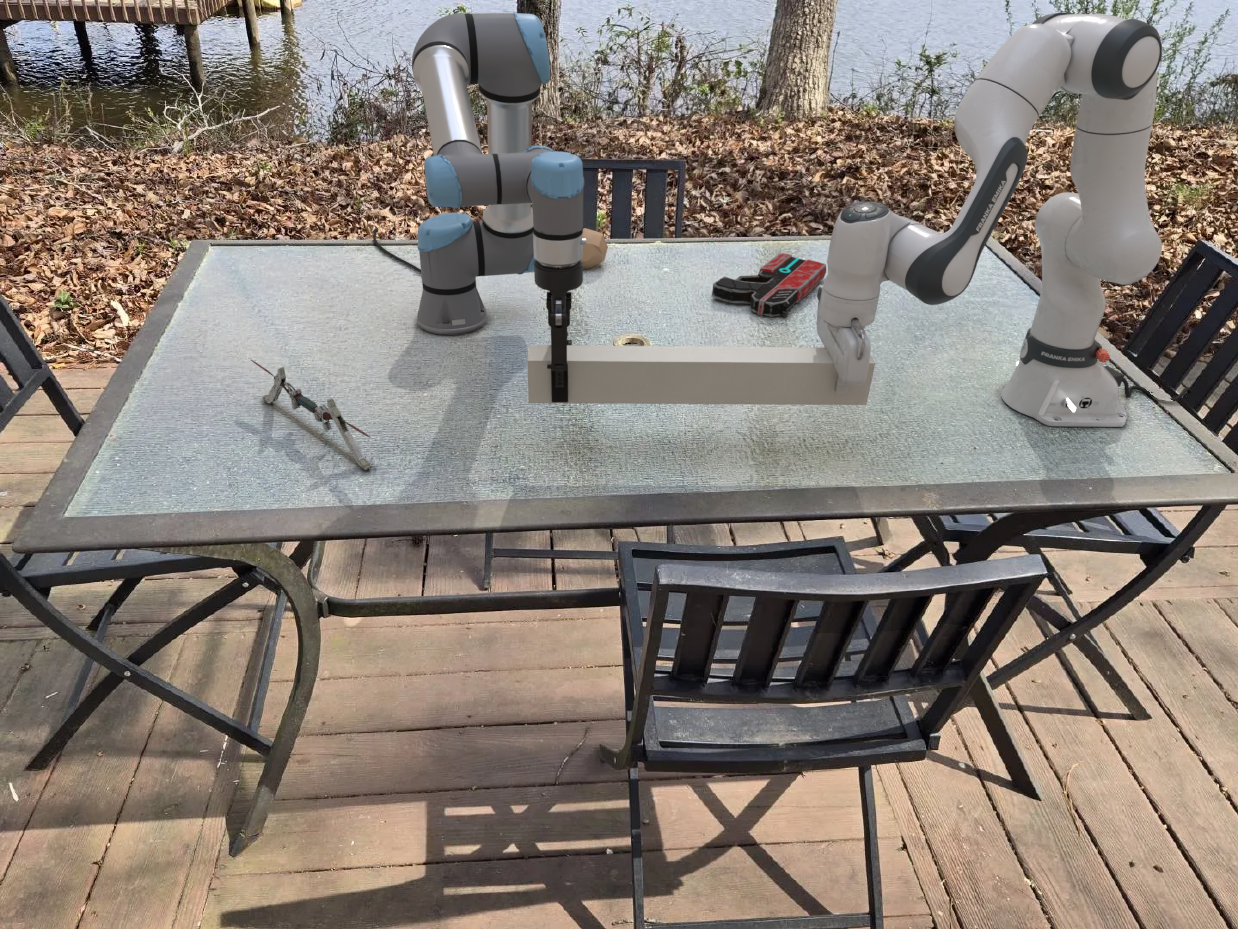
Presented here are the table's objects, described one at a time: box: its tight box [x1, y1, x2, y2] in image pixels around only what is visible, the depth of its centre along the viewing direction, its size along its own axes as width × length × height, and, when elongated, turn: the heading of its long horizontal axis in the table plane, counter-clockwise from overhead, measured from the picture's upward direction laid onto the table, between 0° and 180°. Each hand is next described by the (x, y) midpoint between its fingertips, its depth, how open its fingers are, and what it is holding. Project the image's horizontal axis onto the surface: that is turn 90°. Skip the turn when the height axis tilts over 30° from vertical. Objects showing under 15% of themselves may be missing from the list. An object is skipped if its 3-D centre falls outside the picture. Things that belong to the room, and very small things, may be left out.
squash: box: [581, 227, 609, 270], centre depth 226 cm, size 11×20×9 cm, turn 90°
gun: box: [711, 252, 827, 318], centre depth 215 cm, size 4×31×19 cm
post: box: [526, 344, 876, 406], centre depth 146 cm, size 57×6×8 cm, turn 92°
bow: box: [250, 359, 373, 471], centre depth 154 cm, size 39×2×10 cm, turn 47°
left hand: (560, 391), depth 147 cm, fingers closed on post, 6 cm apart
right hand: (835, 382), depth 148 cm, fingers closed on post, 5 cm apart
